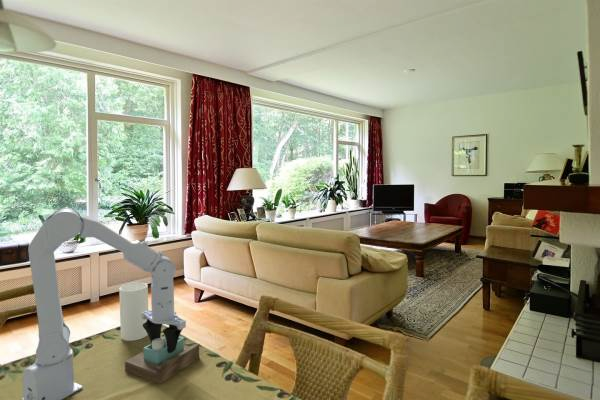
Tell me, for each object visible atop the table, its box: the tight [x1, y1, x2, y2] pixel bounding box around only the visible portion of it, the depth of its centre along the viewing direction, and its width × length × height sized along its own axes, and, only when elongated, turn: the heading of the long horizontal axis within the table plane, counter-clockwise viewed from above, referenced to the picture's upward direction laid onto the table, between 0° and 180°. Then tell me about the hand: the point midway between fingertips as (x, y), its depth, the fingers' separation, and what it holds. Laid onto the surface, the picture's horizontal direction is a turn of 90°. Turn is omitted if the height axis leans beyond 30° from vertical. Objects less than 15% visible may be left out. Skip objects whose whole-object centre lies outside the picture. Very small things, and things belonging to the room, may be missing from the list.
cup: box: [118, 282, 149, 342], centre depth 114 cm, size 8×8×16 cm
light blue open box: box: [143, 334, 185, 365], centre depth 98 cm, size 9×5×5 cm, turn 153°
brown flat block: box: [124, 343, 200, 385], centre depth 98 cm, size 14×13×4 cm
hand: (163, 348), depth 98 cm, fingers closed on light blue open box, 5 cm apart
